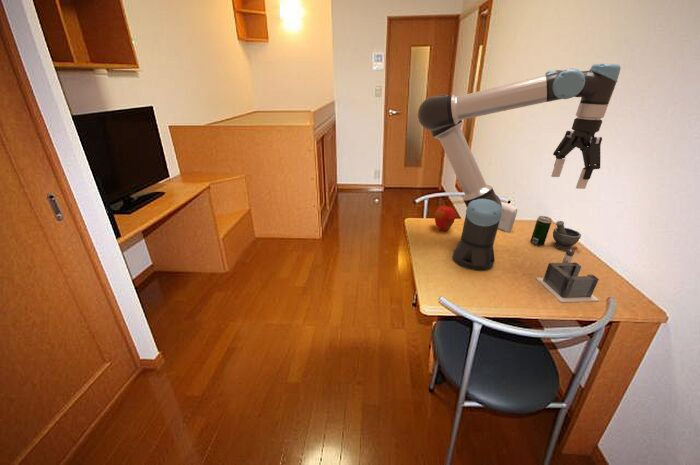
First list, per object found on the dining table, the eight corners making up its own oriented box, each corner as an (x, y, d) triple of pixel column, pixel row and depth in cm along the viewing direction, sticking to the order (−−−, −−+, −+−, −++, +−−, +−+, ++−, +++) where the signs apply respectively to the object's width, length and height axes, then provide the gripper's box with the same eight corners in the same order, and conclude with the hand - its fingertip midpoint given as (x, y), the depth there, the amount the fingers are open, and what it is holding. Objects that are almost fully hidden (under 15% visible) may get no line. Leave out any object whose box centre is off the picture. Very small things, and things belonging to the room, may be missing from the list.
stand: (561, 273, 118) (569, 252, 114) (554, 266, 121) (561, 246, 118) (573, 273, 118) (581, 252, 114) (564, 266, 122) (572, 246, 118)
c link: (562, 297, 103) (569, 279, 100) (542, 280, 112) (548, 263, 109) (590, 296, 104) (598, 279, 101) (569, 279, 113) (576, 262, 110)
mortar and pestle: (564, 241, 142) (573, 216, 136) (581, 251, 133) (591, 225, 128) (541, 241, 140) (549, 216, 135) (556, 252, 132) (566, 226, 127)
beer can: (541, 247, 135) (550, 222, 130) (528, 243, 139) (536, 217, 133) (545, 243, 139) (554, 218, 133) (532, 239, 142) (540, 214, 137)
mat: (560, 302, 102) (561, 301, 102) (536, 279, 113) (536, 277, 113) (598, 301, 103) (599, 299, 103) (570, 278, 115) (570, 277, 114)
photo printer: (513, 230, 150) (520, 206, 144) (508, 233, 147) (515, 208, 142) (493, 223, 157) (499, 199, 152) (488, 225, 155) (494, 201, 149)
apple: (430, 225, 152) (433, 201, 147) (448, 225, 153) (452, 201, 148) (436, 234, 144) (440, 209, 139) (455, 233, 145) (460, 209, 140)
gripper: (632, 123, 91) (604, 194, 100) (574, 114, 114) (555, 172, 123) (606, 123, 91) (581, 193, 100) (554, 113, 113) (536, 172, 123)
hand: (567, 182), depth 112 cm, fingers open, 13 cm apart
